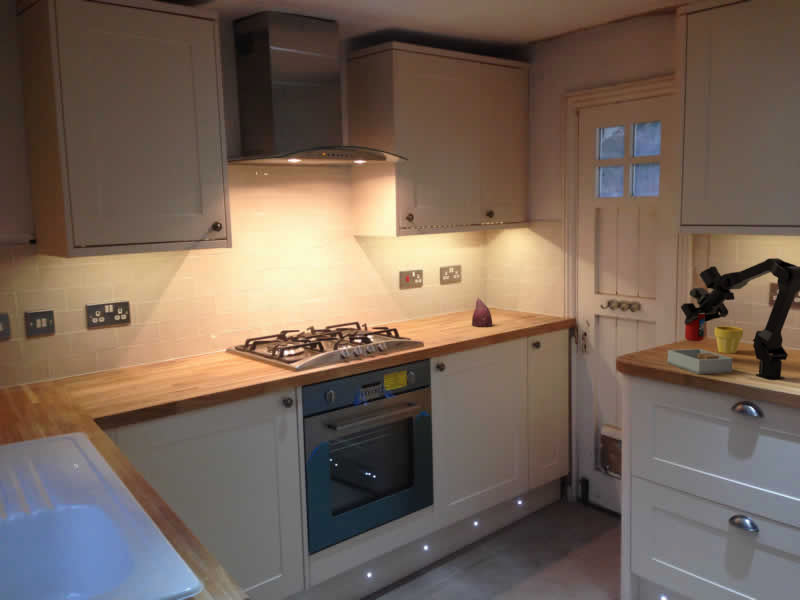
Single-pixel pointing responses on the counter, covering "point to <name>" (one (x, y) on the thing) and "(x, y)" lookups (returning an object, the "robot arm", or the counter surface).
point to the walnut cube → (707, 356)
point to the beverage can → (695, 329)
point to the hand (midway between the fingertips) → (692, 323)
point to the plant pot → (728, 338)
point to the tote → (699, 361)
